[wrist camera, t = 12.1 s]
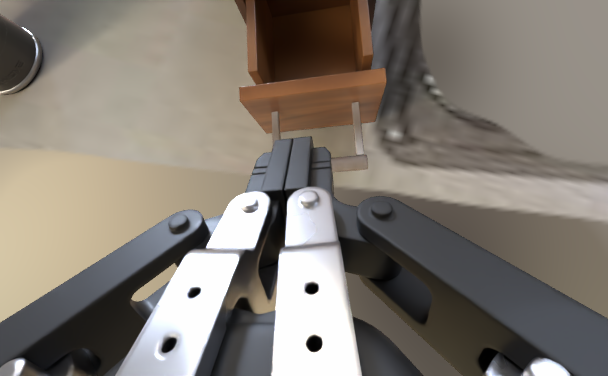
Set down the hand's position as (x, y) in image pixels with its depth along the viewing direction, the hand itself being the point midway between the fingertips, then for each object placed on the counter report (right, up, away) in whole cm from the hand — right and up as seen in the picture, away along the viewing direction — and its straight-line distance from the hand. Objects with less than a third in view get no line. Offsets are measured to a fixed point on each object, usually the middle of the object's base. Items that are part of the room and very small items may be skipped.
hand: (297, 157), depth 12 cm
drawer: (+2, +9, +18) cm, 20 cm away
